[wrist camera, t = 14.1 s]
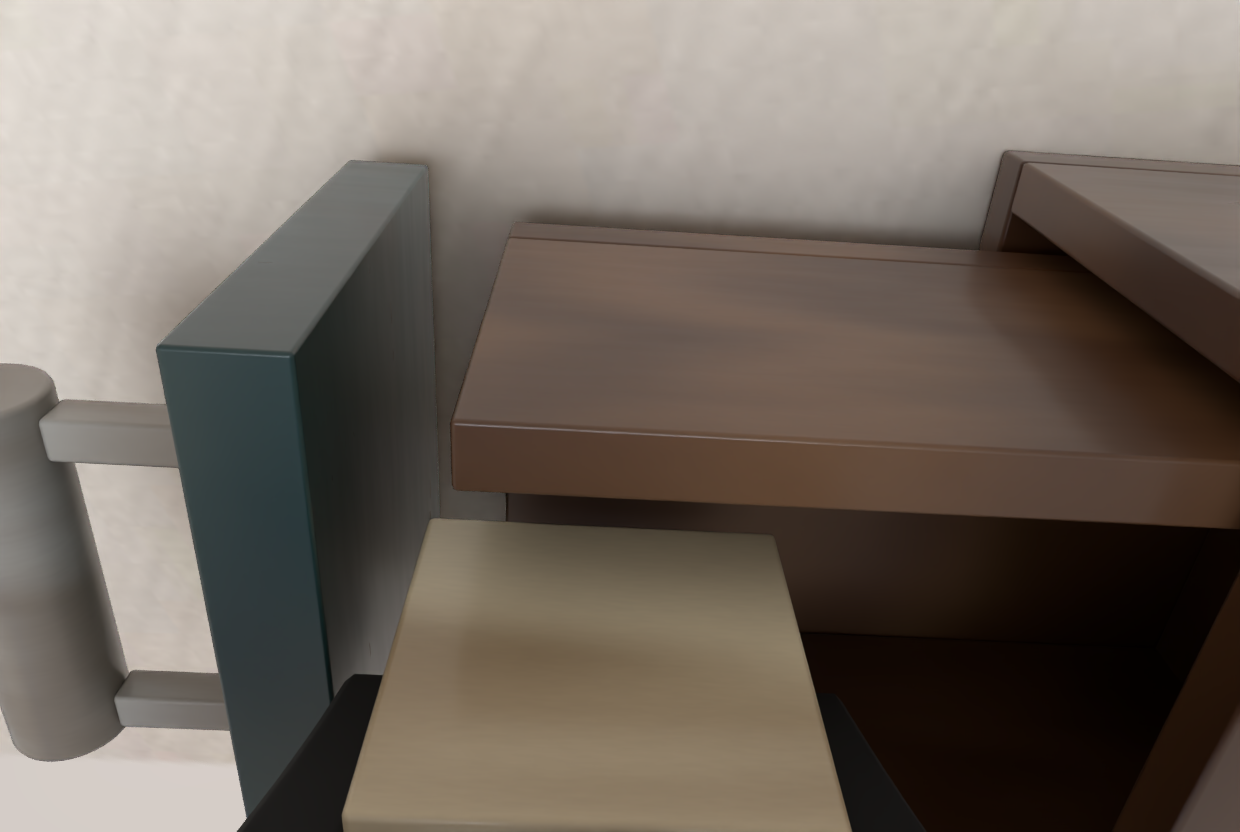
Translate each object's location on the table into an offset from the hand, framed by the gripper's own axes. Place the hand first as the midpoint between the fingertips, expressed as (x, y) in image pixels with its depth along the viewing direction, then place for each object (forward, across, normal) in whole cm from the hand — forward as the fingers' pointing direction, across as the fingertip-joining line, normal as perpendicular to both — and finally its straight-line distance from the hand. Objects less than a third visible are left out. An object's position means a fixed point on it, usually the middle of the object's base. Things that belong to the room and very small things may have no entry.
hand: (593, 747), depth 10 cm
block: (+1, 0, 0) cm, 1 cm away
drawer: (+7, -2, 0) cm, 7 cm away
